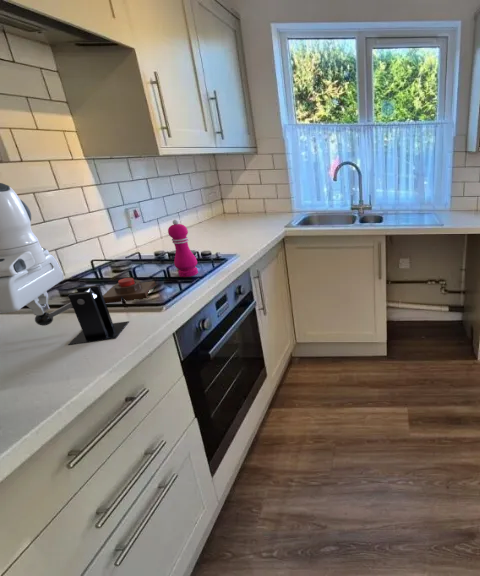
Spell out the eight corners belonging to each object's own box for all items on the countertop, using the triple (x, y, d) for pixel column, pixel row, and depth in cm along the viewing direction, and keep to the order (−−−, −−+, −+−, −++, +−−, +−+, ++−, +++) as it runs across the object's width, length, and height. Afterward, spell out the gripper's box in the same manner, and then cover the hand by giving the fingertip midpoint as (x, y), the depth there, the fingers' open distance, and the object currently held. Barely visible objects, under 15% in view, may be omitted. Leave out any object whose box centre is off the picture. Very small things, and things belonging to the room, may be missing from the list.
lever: (39, 330, 85) (28, 320, 84) (47, 324, 88) (36, 314, 87) (94, 301, 86) (83, 291, 85) (99, 296, 89) (89, 286, 88)
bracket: (69, 348, 86) (48, 300, 81) (87, 330, 94) (69, 285, 89) (117, 342, 88) (99, 294, 83) (130, 325, 96) (115, 280, 91)
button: (117, 288, 111) (115, 283, 110) (122, 283, 115) (120, 278, 114) (132, 286, 112) (130, 281, 111) (136, 281, 116) (135, 276, 115)
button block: (102, 304, 109) (98, 292, 107) (115, 291, 118) (111, 280, 116) (146, 299, 112) (143, 287, 110) (156, 287, 121) (153, 276, 119)
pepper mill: (191, 278, 128) (177, 222, 120) (173, 277, 129) (157, 222, 121) (203, 271, 134) (191, 217, 126) (186, 270, 135) (172, 217, 127)
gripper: (29, 246, 89) (51, 297, 94) (-35, 274, 71) (-3, 335, 76) (59, 243, 90) (79, 293, 96) (4, 270, 72) (33, 330, 77)
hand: (42, 312), depth 86 cm, fingers closed, pressing on lever
